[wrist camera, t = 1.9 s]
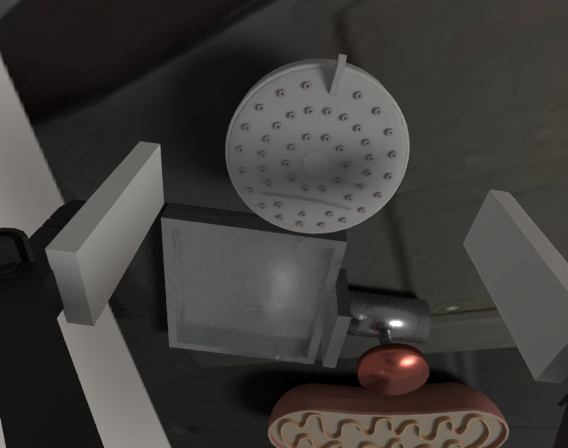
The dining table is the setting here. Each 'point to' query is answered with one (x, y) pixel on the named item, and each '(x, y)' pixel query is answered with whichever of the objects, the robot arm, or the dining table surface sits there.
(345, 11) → the dining table surface
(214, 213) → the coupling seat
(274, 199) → the showerhead
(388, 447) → the anatomical model
